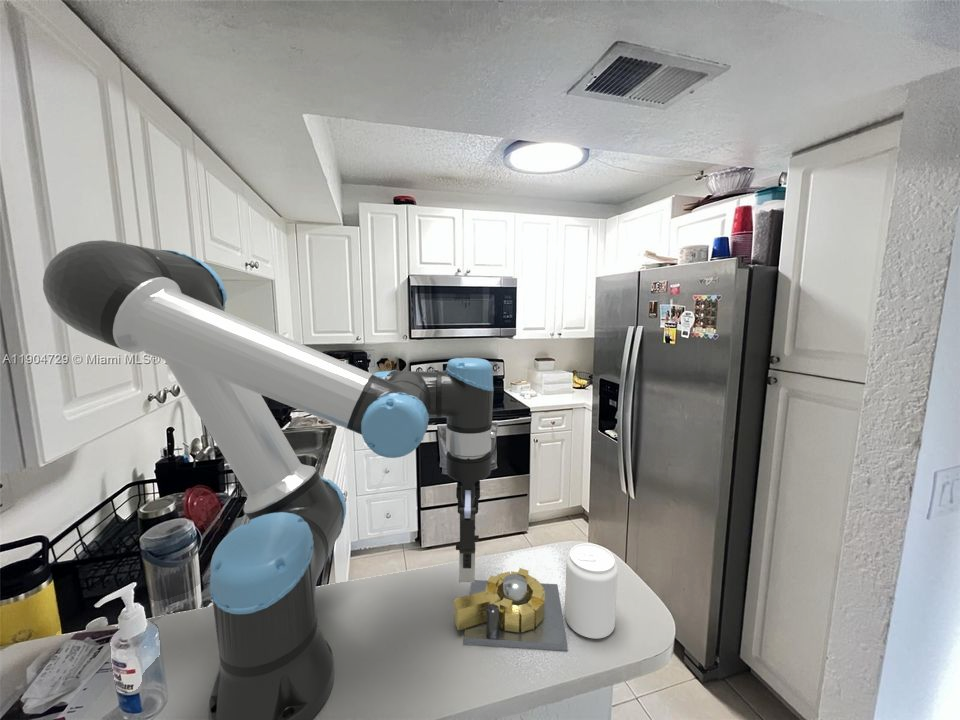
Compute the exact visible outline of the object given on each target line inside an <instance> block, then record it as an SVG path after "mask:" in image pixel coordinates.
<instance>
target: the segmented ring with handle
mask: <svg viewBox="0 0 960 720" xmlns="http://www.w3.org/2000/svg"><path fill="white" fill-rule="evenodd" d="M511 574H517V575H521V576H523V577H524V578H525V579H526V581H527V599H528V600H529V602H528V603H526V604H522V605H519V606H516V605H513V601H512V600H509V599H506V598H503V580H504V578H505V577H506V576H508V575H511ZM486 581H487V586H486V590H485V591H483V592H479V593H476V594H472V595H470V594H469V595H465V596H462V597H457V598H454V599H453V621H454V622H455V623H454V624H455V626H456V629H457V630H458V631H459V630H463V629H464V630H465V628H467V627H471V626H474V625H477V624H481V623H484V622H486V608H487V606H488V605H490V604H495V605H497V606H498V607H499V628H501V629H502V630H503V629H504V627H505V631H512V632H519V629H520V631H521V632H524V631H527V630H531V629H534V626H535V627H537V626H538V624H539V623H540V622H541V621H542V620H543V619H544V603H545V591H544V588H543V587H542V585H541V584H540V583H541V582H540V581H539V580H537V578H535V577H533V576H532V575H530V574H529V570H527V569H524V568H522V567H521V568H519V569H518V571H512V570H511V572H510V571H506V572H502V573H498V574H497V575H490V576H489V578H488V579H487V580H486ZM502 598H503V600H500V599H502Z"/></svg>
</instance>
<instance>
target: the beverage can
mask: <svg viewBox="0 0 960 720" xmlns="http://www.w3.org/2000/svg"><path fill="white" fill-rule="evenodd" d="M565 565H566V566H565V593H564V594H565V595H564V596H565V597H564V598H565V599H564V618H565V620H566V622H567V624H568V627H570V628H571V629H572V630H573V631H574V632H576V634H579V635H580V636H582V637H586V638H589V639H597V640H598V639H602V638H606V637H608V636H610V635H611V634H612V633H613V632H614V629H615V627H616V609H617V608H616V607H617V593H618V592H617V591H618V590H617V588H618V575H619V574H618V571H619V569H618V565H617V563H616V560H615V556H614V554H612V552H611V551H610V550H609V549H607V548H606V547H603V546H601V545H598V544H594V543H589V542H588V543H587V542H585V543H578V544H576V545H574V546H573V547H572V548H571V549H570V550H569V553H568V555H567V557H566V564H565Z"/></svg>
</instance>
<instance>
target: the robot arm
mask: <svg viewBox="0 0 960 720" xmlns="http://www.w3.org/2000/svg"><path fill="white" fill-rule="evenodd" d="M42 287H43V288H42V290H43V293H44V297H45V299H46V301H47V302H46V303H48V305H49V306H50V309H51V310H52V311H53V313H55V315H56V316H57V317H59V318H60V319H61V320H62V321H63V322H64V323H66V324H67V325H68V326H70V327H71V328H73V329H75V330H76V331H78V332H80V333H82V334H83V335H85V336H87V337H88V336H89V337H90V338H93V339H94V340H97V341H100V342H101V343H104V344H107V345H110V346H113V347H114V348H117V349H120V350H122V351H125V352H127V353H132V354H133V353H141V352H144V353H145V354H146V355H149V356H152V357H157V358H160V359H162V360H164V362H165V363H166V364H167V366H168V369H169V370H170V371H171V373H172V374H173V376H174V378H175V379H176V381H177V383H178V385H179V386H180V387H181V389H182V390H183V392H184V394H185V395H186V397H187V399H188V400H189V402H190V404H191V405H192V407H193V409H194V411H195V412H196V414H197V415H198V417H199V418H200V420H201V421H202V423H203V425H204V427H205V428H206V430H207V431H208V433H209V434H210V436H211V437H212V440H213V441H214V443H215V444H216V445H217V447H218V449H219V451H220V452H221V454H222V455H223V457H224V459H225V460H226V461H227V463H228V466H229V467H230V468H231V470H232V471H233V473H234V475H235V477H236V478H237V479H238V481H239V483H240V485H241V487H242V488H243V489H244V491H245V492H246V494H247V498H246V501H245V504H244V507H243V512H244V513H245V515H246V516H247V518H248V519H249V521H248V523H247V524H244V523H243V524H240V525H238V526H237V527H235V528H234V529H232V530H231V531H230V532H229V533H228V534H226V536H225V537H223V539H222V540H221V541H220V542H219V544H218V545H217V547H215V550H214V552H213V554H212V557H211V561H210V568H209V569H210V576H209V593H210V596H211V599H212V600H211V601H212V606H213V615H214V623H215V624H214V625H215V631H216V639H217V648H218V654H219V665H218V669H217V673H216V675H215V680H214V683H213V687H212V691H211V693H210V698H209V703H208V710H207V711H208V720H313V719H314V718H315V717H316V716H317V714H318V713H319V712H320V711H321V709H322V708H323V706H324V705H325V703H326V702H327V700H328V698H329V696H330V694H331V692H332V689H333V685H334V680H335V665H334V655H333V651H332V649H331V646H330V645H329V643H328V641H327V640H326V639H325V637H324V635H323V632H322V631H321V628H320V626H319V624H318V610H317V597H316V596H317V595H316V593H317V592H316V587H317V582H318V580H319V577H320V575H321V573H322V571H323V568H324V567H325V565H326V562H327V561H328V558H329V557H330V554H331V552H332V550H333V548H334V546H335V543H336V541H337V540H338V538H339V537H340V535H341V534H342V530H343V527H344V524H345V520H346V515H347V502H346V498H345V495H344V494H343V491H342V489H341V488H340V487H339V486H338V485H337V484H336V482H334V481H333V480H331V479H329V478H328V479H326V478H325V477H323V476H320V474H319V472H318V470H317V469H316V468H315V467H314V466H311V465H309V464H308V465H307V464H303V463H301V461H300V459H299V457H298V456H297V454H296V453H295V451H294V449H293V447H292V446H291V444H290V442H289V440H288V439H287V437H286V436H285V434H284V432H283V430H282V428H281V427H280V425H279V423H278V421H277V420H276V419H275V416H274V415H273V413H272V411H271V410H270V408H269V407H268V404H267V403H266V401H265V399H264V398H263V396H264V397H267V398H268V399H271V400H274V401H277V402H278V403H281V404H283V405H285V406H286V405H287V406H288V407H291V408H293V409H296V410H299V411H302V412H304V413H306V414H309V415H311V416H314V417H316V418H319V419H322V420H325V421H326V422H329V423H331V424H333V425H337V426H340V427H342V428H345V429H347V430H350V431H352V432H354V433H357V434H359V435H361V436H362V439H363V442H364V443H365V444H366V446H367V447H368V448H369V449H370V450H371V451H372V452H373V453H375V454H376V455H378V456H380V457H383V458H388V459H389V458H390V459H398V458H401V457H405V456H407V455H409V454H411V453H413V451H415V450H416V449H417V448H419V446H420V444H421V443H422V441H423V440H424V436H425V435H426V432H427V430H428V426H429V425H428V424H429V421H430V419H440V418H446V427H445V431H446V432H445V435H446V436H445V438H446V439H445V440H446V441H445V446H446V447H445V449H446V451H447V452H446V463H445V464H446V465H445V470H446V471H445V472H446V474H447V476H448V477H449V478H451V479H453V480H454V481H456V490H455V492H456V495H455V497H456V499H457V513H458V514H459V543H456V544H455V550H456V551H458V552H459V553H458V554H459V561H458V564H459V565H458V566H459V568H458V572H459V573H458V576H459V577H458V578H459V579H458V583H469V584H470V583H475V580H476V578H475V577H476V542H479V539H480V537H479V535H476V515H477V514H479V500H480V498H481V481H483V480H485V479H486V478H488V477H489V476H490V475H491V472H492V452H491V450H492V439H493V438H494V439H495V437H496V432H495V431H492V430H493V429H492V427H493V410H494V409H493V407H494V389H495V388H494V373H493V364H491V362H490V361H489V360H487V359H484V358H480V357H455V358H452V359H449V360H448V361H447V363H446V364H447V365H446V368H445V370H441V371H421V370H420V371H418V370H417V371H416V370H415V371H414V370H413V371H411V370H410V371H409V370H406V371H405V370H397V369H392V370H388V371H387V370H386V371H377V372H375V373H374V374H373V373H372V372H368V371H366V370H363V369H362V368H359V367H356V366H354V365H353V364H350V363H347V362H344V361H342V360H340V359H338V358H335V357H333V356H330V355H328V354H326V353H323V352H321V351H319V350H316V349H314V348H311V347H309V346H307V345H305V344H303V343H301V342H297V341H295V340H293V339H290V338H289V337H285V336H283V335H281V334H279V333H276V332H274V331H272V330H269V329H267V328H264V327H262V326H260V325H257V324H255V323H253V322H250V321H248V320H247V319H246V320H245V319H243V318H241V317H238V316H236V315H234V314H231V313H229V312H227V311H225V309H226V302H227V298H228V297H227V296H228V295H227V290H226V288H225V284H224V282H223V280H222V279H221V277H220V276H219V274H218V273H217V272H216V271H215V269H213V268H212V267H211V266H210V265H209V264H208V263H205V261H204V262H203V261H202V260H200V259H198V258H196V257H193V256H190V255H188V254H185V253H182V252H179V251H175V250H169V249H168V250H167V249H155V248H149V247H143V246H139V245H134V244H129V243H126V242H119V241H112V240H107V239H106V240H105V239H104V240H103V239H102V240H100V239H99V240H89V241H83V242H80V243H79V242H78V243H76V244H73V245H70V246H68V247H67V248H65V249H63V250H61V251H59V252H58V253H57V254H56V255H55V256H54V257H53V258H52V259H51V260H50V261H49V263H48V264H47V267H45V271H44V274H43V278H42Z"/></svg>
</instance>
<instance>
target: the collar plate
mask: <svg viewBox="0 0 960 720" xmlns="http://www.w3.org/2000/svg"><path fill="white" fill-rule="evenodd" d="M510 574H511V573H510ZM487 581H488V580H481V579H475V583H471V584H470V590H469V595H472V594H476V593H479V592H483V591H485V590H486V586H487ZM539 583H540V584H541V585H542V587H543V588H544V591H545V603H544V619H543V620H542V621H541V622H540V623H539V624H538V626H537V627H535V626H534V629H531V630H527V631H524V632H521V631H520V629H519V632H512V631H505V627H504V629H503V630H502V629H501V628H499V607H498V606H497V605H495V604H490V605H488V606H487V608H486V622H484V623H481V624H477V625H474V626H471V627H467V628H464V636H463V645H465V646H466V645H467V646H483V647H496V648H510V649H511V648H512V649H529V650H546V651H559V652H561V651H562V652H567V651H568V639H567V633H566V632H567V631H566V627H565V621H564V615H563V614H564V613H563V609H562V604H561V597H560V593H559V586H558V583H544V582H543V583H542V582H539ZM503 598H506V599H509V600H512V601H513V605H516V606H519V605H522V604H526V603H528V602H529V600H528V599H527V581H526V579H525V578H524V577H523V576H521V575H517V574H511V575H508V576H506V577H505V578H504V580H503ZM503 598H502V599H500V600H503Z"/></svg>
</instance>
